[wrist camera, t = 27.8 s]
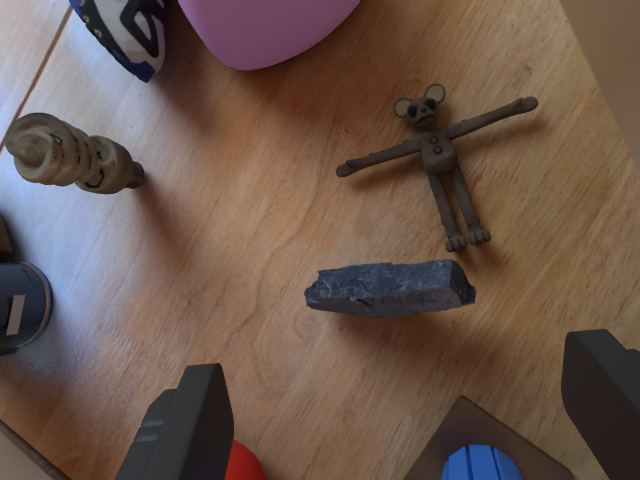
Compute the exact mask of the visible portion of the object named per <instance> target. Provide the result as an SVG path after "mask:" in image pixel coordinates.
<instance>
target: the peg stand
mask: <svg viewBox="0 0 640 480" xmlns="http://www.w3.org/2000/svg"><path fill="white" fill-rule="evenodd" d="M469 445H489V446H490V447H491V450H492V451H493V449H494V448H497V449H498V450H500V451H501V452H503V453H504V454H505V455H507V456H508V457H509V458H511V459H512V460H513V461H514V464H515V465H517V466H518V469H519V471H520V474H521V476H522V479H523V480H570V479H571V477H572V476H573V475H572V473H571V472H570V470H569V469H568V468H566V467H565V466H563V465H562V464H561V463H559V462H558V461H556V460H555V459H553V458H552V457H551V456H549V455H548V454H546V453H545V452H543V451H542V450H541V449H539V448H538V447H536V446H535V445H533V444H532V443H531V442H529V441H528V440H526V439H525V438H523V437H522V436H521V435H519V434H518V433H516V432H515V431H513V430H512V429H511V428H509V427H508V426H506V425H505V424H503V423H502V422H501V421H499V420H498V419H496V418H495V417H493V416H492V415H491V414H489V413H488V412H486V411H485V410H483V409H482V408H480V407H479V406H478V405H476V404H475V403H473V402H472V401H470V400H469V399H468V398H466V397H465V396H463V395H462V394H461V396H460V397H459V398H458V400H457V401H456V403H455V404H454V406H453V407H452V409H451V410H450V412H449V413H448V415H447V416H446V418H445V419H444V420H443V422H442V423H441V425H440V426H439V428H438V429H437V431H436V432H435V434H434V435H433V437H432V438H431V440H430V441H429V443H428V444H427V445H426V447H425V448H424V450H423V451H422V453H421V454H420V456H419V457H418V459H417V460H416V462H415V463H414V465H413V466H412V467H411V469H410V470H409V472H408V473H407V475H406V476H405V478H404V479H403V480H441V477H442V473H443V469H444V466H445V462H446V461H447V462H449V457H450V456H451V455H452V454H454V453H455V452H457V451H458V450H459V449H461V448H462V447H464V446H465V447H466V448H467V450H468V451H469Z"/></svg>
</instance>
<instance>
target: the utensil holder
mask: <svg viewBox="0 0 640 480" xmlns="http://www.w3.org/2000/svg"><path fill="white" fill-rule="evenodd" d="M11 254H12V247H11V243H10V240H9V237H8V234H7V231H6V228H5V225H4V222H3V219H2V217H1V215H0V261H6V260H7V259H8V258H9V257H10V256H11Z"/></svg>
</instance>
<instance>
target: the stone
mask: <svg viewBox="0 0 640 480" xmlns="http://www.w3.org/2000/svg"><path fill="white" fill-rule="evenodd" d="M318 273H319V277H318V280H317V281H315V282H314V283H313V284H312V285H311V286H310V287H309V288H307V289H305V292H304V295H305V297H306V304H307V306H309V307H311V308H312V309H316V310H323V311H331V312H337V313H343V314H349V315H359V316H373V317H376V318H392V317H396V316H407V315H408V314H410V313H420V312H434V311H442V310H448V309H452V308H458V307H462V306H465V305H469V304H473V303H475V296H476V293H477V292H476V290H475V287H474V286H472V285H470V284H469V282H468V280H467V277H466V275H465V273H464V271H463V269H462V268H461V266H460V265H459V264H458V263H457V262H456V261H454V260H451V259H445V260H436V261H429V262H425V263H418V264H395V265H394V264H391V263H377V264H361V265H351V266H347V267H343V268H340V269H330V270H321V271H318Z"/></svg>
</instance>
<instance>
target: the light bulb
mask: <svg viewBox="0 0 640 480" xmlns="http://www.w3.org/2000/svg"><path fill="white" fill-rule="evenodd" d="M5 146H6V149H7V150H8V152H9V153H10V154H12V155H13V156H14V163H15V167H16V169H17V171H18V173H19V174H20V175H21V177H22V178H24V179H25V180H27V181H29V182H33V183H41V184H44V185H57V186H68V185H70V184H73V183H74V182H75V184H76V185H77V186H78V187H79V188H80V189H82V190H85V191H88V192H92V193H98V194H114V193H117V192H119V191H121V190H122V189H123V188H130V189H135V188H137V187H139V186H140V185H141V183H142V181H143V180H144V170H143V167H142V165H141V164H139V163H138V162H134V161H133V160H132V157H131V156H130V154H129V152H128V151H127V150H126V149H125V148H124V147H123V146H121V145H120V144H118V143H116V142H114V141H112V140H110V139H108V138H105V137H103V136H98V135H92V136H88V135H87V134H86V133H84V132H83V131H81V130H80V129H78V128H75V127H73V126H72V125H70V124H69V123H67V122H65V121H62V120H59V119H58V118H56V117H54V116H53V115H50V114H46V113H31V114H27V115H25V116H23V117H21V118H19V119H18V120H17V121H15V122H14V123H13V124H12V125H11V126H10V128H9V130H8V131H7V134H6V137H5Z"/></svg>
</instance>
